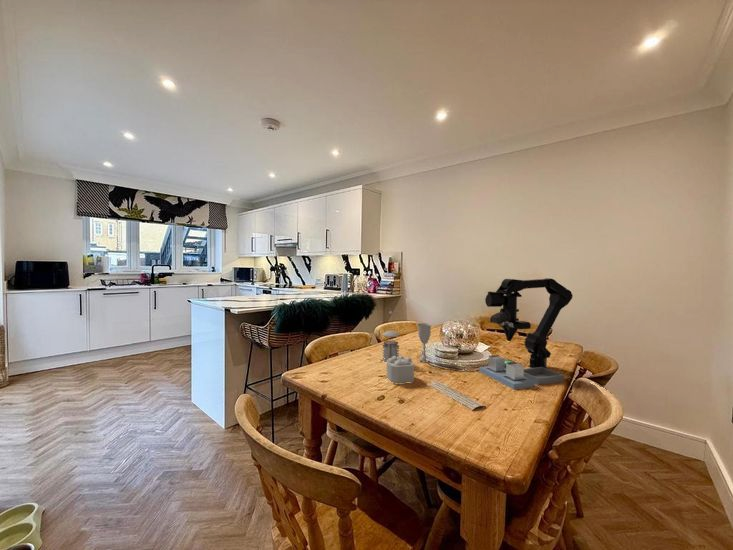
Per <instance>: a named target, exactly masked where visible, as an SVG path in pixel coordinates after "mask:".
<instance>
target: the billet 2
mask: <svg viewBox="0 0 733 550" xmlns="http://www.w3.org/2000/svg"><path fill="white" fill-rule="evenodd" d="M518 363H519V362H518V361H515V362H510V363H506V378H507V379H510V380H512V381H514V382H515V381H523V378H524V369H525V366H524V365H523V364H522V363H520V364H518ZM521 364H522V365H521Z"/></svg>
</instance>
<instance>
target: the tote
mask: <svg viewBox="0 0 733 550" xmlns="http://www.w3.org/2000/svg"><path fill="white" fill-rule="evenodd" d="M524 377H526V378H528V379H531V380H533V381H535V386H541V385H542V386H543V385H547V384H555V383H556V384H557V383H562V382H565V374H562V373H559V372H558V371H554V370H552V369H550V368H549V369H546V368H544V367H536V368H531V367H529V368H524Z"/></svg>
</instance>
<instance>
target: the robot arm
mask: <svg viewBox="0 0 733 550" xmlns="http://www.w3.org/2000/svg"><path fill="white" fill-rule="evenodd" d="M538 288H539V289H541V288H545V290H546V292H547V293H548V294H549V297H548V300H549V303H548V304H549V305H548V307H547V309H546V310H545V312H544V313H543V314H544V315H543V316H542V318H541V320H540V321H539V324H538V326H537V328H536V330H535V331H534V332H532V333H531V332H528V333H527V336H526V338H525V339H524V347H525V349H526V350H527V353H528V354H530V358H529V365H527V367H529V368H536V367H544V368H546V369H549V370H550V368H549V367H548V366H547V362H548V360H547V359H548V358H550V357H551V354H552V353H551V351H549V350H548V348H547V344H548V339H547V337H548V335H549V333H550V331H551V330H552V327H553V326H554V323H555V321H556V320H557V317H558V316H559V314H560V312H561V310H562V309H564V308H565V307H566V306H568V305H569V303H570V302H571V301H572V300H573V296H574V295H573V293H572V291H571V290H570V289H568V288H566V287H565V286H564V285H562V284H560V283H559V282H558V281H556V279H554V278H540V279H539V278H537V279H523V280H522V279H513V278H504V279H503V280H502V281H501V283H500V285H499V287H498V288H497V290H496V291H487V294H486V296H485V305H486V306H487V307H489V308H492V307H493V308H496V307H499V308H500V309H499V312H497V313H495V314H492V315H491V317H490V319H489V322H490V323H493V324H497V325H499V327H501V328H502V330H503V332H504V335H505V337H506V340H507V341H508V342H511V341H512V339H513V338H514V336H515V334H516V333H517V331H518V330H528V329H529V330H530V329H531V327H532V326H531V323H530V322H529V321H526V320H520V319H519V318H518V317H517V316H518V313H517V312H520V309H518V308H517V307H518V298H521V297H523V295H521V293H520V291H523V290H526V289H538Z"/></svg>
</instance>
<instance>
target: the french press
mask: <svg viewBox="0 0 733 550" xmlns="http://www.w3.org/2000/svg"><path fill="white" fill-rule="evenodd" d="M388 314H390V315H393V314H394V312H393V311H392V310H391V311H390V310H389V312H388ZM382 336H383V337H387V338H391V340H385V341H383V344H382V360H383V361H384V362H387V360H388V359H389V358H391V357H393V356H396V357H398V356H400V355H399V352H400V345H398V344H399V342H398V341H396V340H393V338H396V337H399V336H400V334H399V333H398V331H394V330H386V331H384V332H383V333H382ZM384 358H385V359H384Z"/></svg>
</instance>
